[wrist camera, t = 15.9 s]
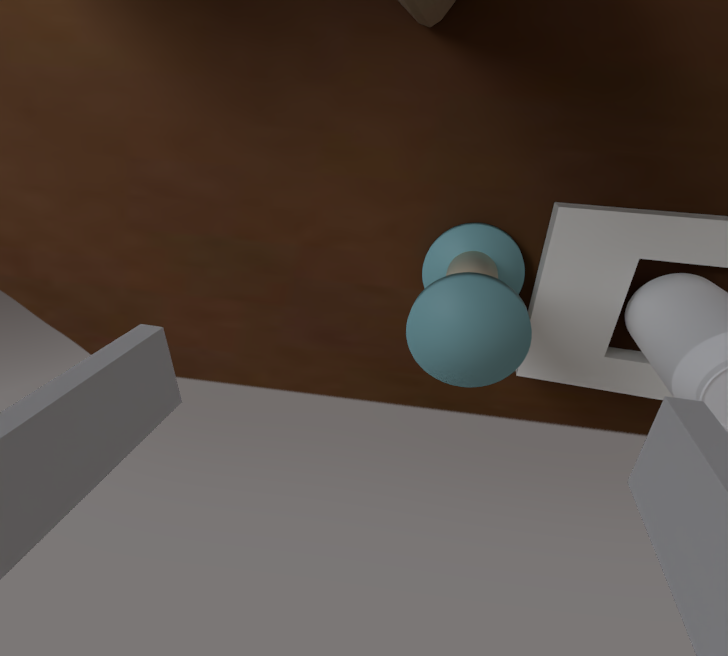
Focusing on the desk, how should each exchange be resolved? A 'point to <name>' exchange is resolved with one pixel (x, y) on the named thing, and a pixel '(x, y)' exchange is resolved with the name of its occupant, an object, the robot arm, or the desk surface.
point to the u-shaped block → (606, 290)
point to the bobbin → (470, 308)
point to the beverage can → (684, 337)
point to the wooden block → (427, 10)
